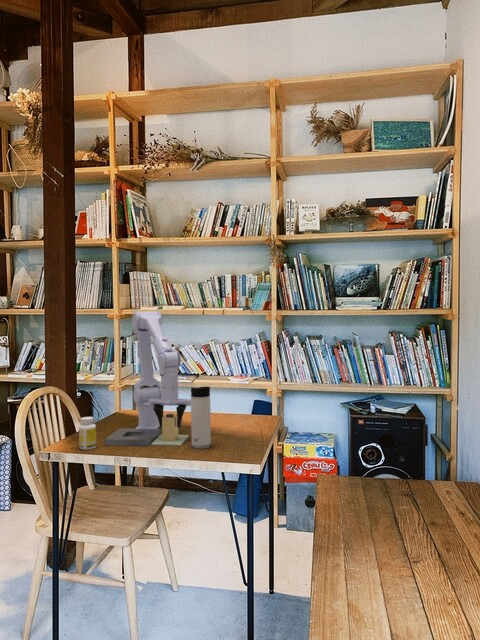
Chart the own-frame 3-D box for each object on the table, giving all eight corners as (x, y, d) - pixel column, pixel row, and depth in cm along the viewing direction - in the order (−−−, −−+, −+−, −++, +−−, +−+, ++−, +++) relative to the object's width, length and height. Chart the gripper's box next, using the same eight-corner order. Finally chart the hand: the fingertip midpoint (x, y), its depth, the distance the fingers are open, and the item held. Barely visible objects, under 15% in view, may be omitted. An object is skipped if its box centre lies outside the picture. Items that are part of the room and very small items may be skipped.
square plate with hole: (120, 433, 185) (120, 428, 185) (160, 434, 183) (160, 429, 183) (104, 445, 170) (104, 439, 170) (148, 446, 168) (148, 440, 168)
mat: (160, 435, 182) (160, 434, 182) (188, 436, 181) (188, 435, 181) (151, 445, 170) (151, 443, 170) (180, 445, 169) (180, 444, 169)
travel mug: (196, 450, 163) (195, 387, 162) (188, 445, 169) (187, 385, 168) (214, 447, 166) (213, 386, 165) (206, 442, 172) (205, 383, 171)
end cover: (165, 437, 178) (165, 412, 177) (178, 437, 177) (177, 412, 177) (162, 440, 173) (161, 415, 173) (175, 441, 173) (174, 415, 172)
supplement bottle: (99, 445, 170) (98, 416, 170) (92, 450, 165) (92, 419, 164) (83, 445, 171) (82, 416, 170) (76, 449, 165) (75, 419, 165)
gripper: (145, 388, 172) (146, 428, 172) (188, 389, 170) (188, 429, 170) (151, 385, 179) (152, 424, 179) (192, 385, 177) (192, 424, 177)
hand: (170, 426), depth 175 cm, fingers open, 5 cm apart
